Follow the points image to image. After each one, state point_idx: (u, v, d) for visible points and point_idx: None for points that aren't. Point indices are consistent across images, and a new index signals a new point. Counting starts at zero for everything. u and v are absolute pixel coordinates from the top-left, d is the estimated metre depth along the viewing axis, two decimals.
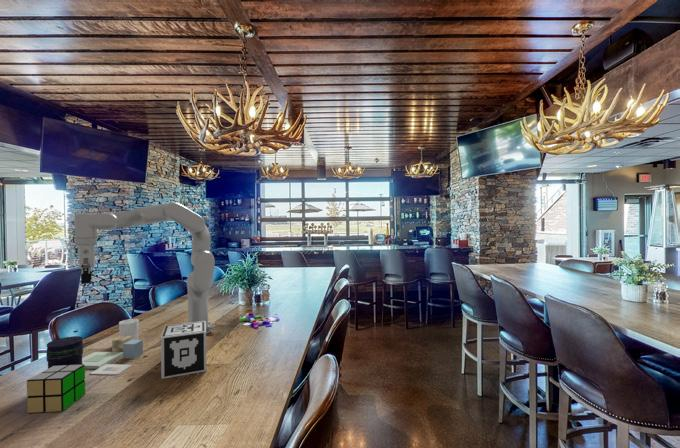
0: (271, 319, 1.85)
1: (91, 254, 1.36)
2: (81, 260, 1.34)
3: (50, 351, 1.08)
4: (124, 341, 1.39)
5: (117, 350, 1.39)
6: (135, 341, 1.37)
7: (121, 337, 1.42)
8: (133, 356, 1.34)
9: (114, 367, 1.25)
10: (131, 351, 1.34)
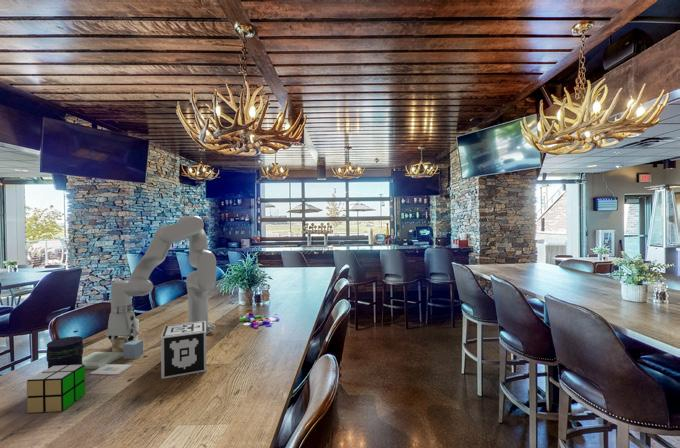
0: (271, 319, 1.85)
1: (135, 319, 1.43)
2: (130, 327, 1.39)
3: (50, 351, 1.08)
4: (124, 341, 1.39)
5: (117, 350, 1.39)
6: (135, 341, 1.37)
7: (121, 337, 1.42)
8: (133, 356, 1.34)
9: (114, 367, 1.25)
10: (132, 351, 1.34)
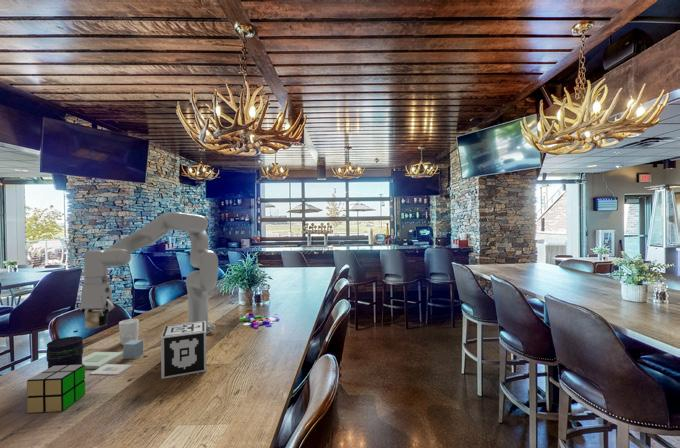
0: (271, 319, 1.85)
1: (111, 292, 1.33)
2: (104, 299, 1.29)
3: (50, 351, 1.08)
4: (98, 314, 1.29)
5: (90, 323, 1.29)
6: (135, 341, 1.37)
7: (96, 310, 1.33)
8: (133, 356, 1.34)
9: (114, 367, 1.25)
10: (132, 351, 1.34)
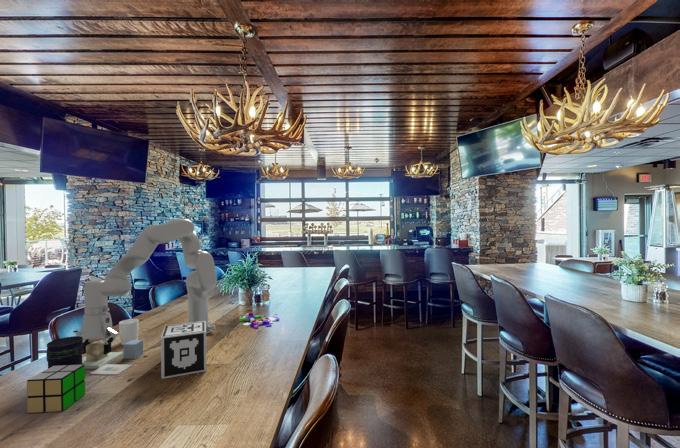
0: (271, 319, 1.85)
1: (111, 321, 1.33)
2: (105, 330, 1.29)
3: (50, 351, 1.08)
4: (99, 346, 1.29)
5: (91, 356, 1.29)
6: (135, 341, 1.37)
7: (96, 342, 1.33)
8: (133, 356, 1.34)
9: (114, 367, 1.25)
10: (132, 351, 1.34)
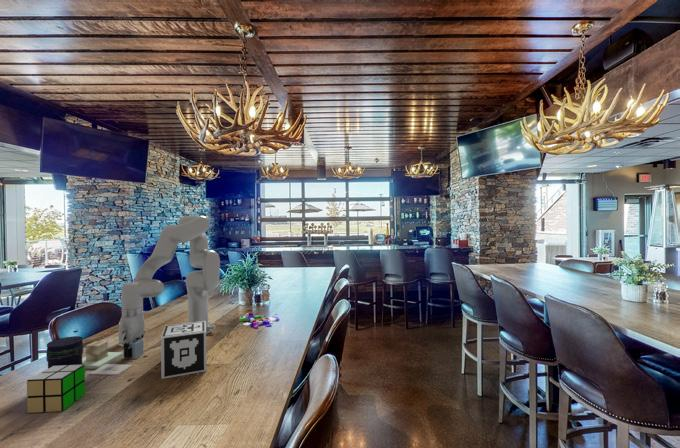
0: (271, 319, 1.85)
1: None
2: None
3: (50, 351, 1.08)
4: (99, 346, 1.29)
5: (91, 356, 1.29)
6: (136, 341, 1.37)
7: (96, 342, 1.33)
8: (134, 356, 1.34)
9: (114, 367, 1.25)
10: (132, 351, 1.34)
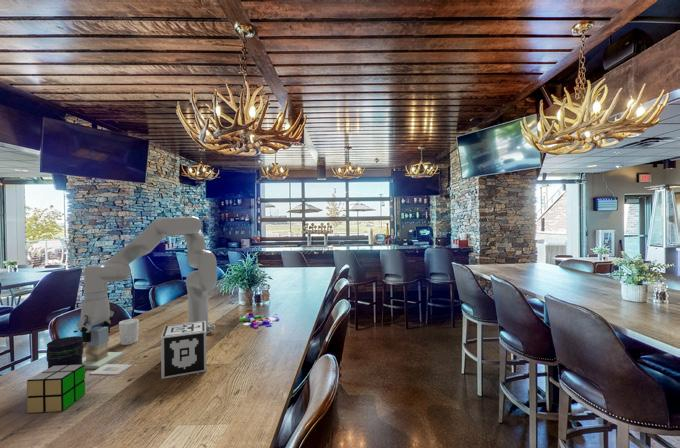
0: (271, 319, 1.85)
1: None
2: None
3: (50, 351, 1.08)
4: (99, 346, 1.29)
5: (91, 356, 1.29)
6: (100, 328, 1.32)
7: None
8: (97, 343, 1.29)
9: (114, 367, 1.25)
10: (95, 338, 1.29)
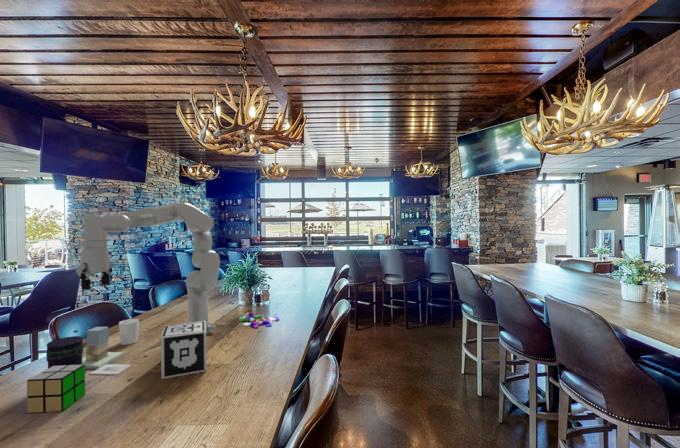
0: (271, 319, 1.85)
1: None
2: None
3: (50, 351, 1.08)
4: (99, 346, 1.29)
5: (91, 356, 1.29)
6: (100, 328, 1.32)
7: None
8: (97, 343, 1.29)
9: (114, 367, 1.25)
10: (95, 338, 1.29)
